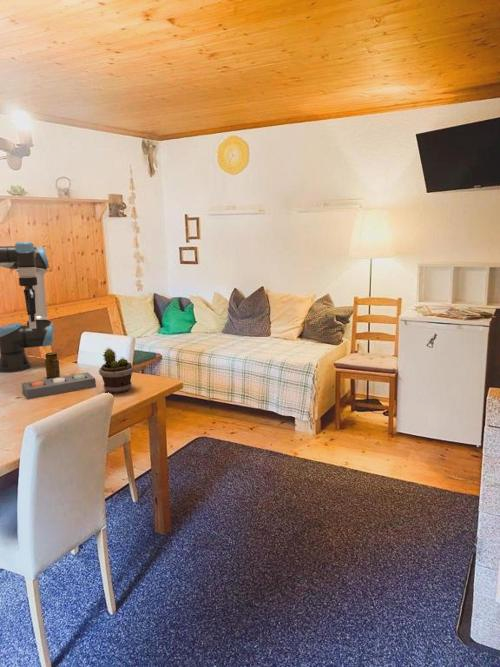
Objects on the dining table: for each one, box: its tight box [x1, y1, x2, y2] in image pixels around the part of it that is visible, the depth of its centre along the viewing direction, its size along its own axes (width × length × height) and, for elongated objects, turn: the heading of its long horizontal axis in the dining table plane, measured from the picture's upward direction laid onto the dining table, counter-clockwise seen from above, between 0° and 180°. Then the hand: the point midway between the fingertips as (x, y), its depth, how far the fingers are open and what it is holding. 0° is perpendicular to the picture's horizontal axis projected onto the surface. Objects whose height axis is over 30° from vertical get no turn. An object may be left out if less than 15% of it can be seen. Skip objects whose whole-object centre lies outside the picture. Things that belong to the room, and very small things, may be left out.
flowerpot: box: [98, 347, 135, 394], centre depth 218 cm, size 14×15×20 cm
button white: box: [53, 378, 65, 383], centre depth 222 cm, size 5×5×4 cm
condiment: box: [43, 352, 63, 379], centre depth 239 cm, size 7×8×12 cm
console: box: [21, 372, 97, 400], centre depth 222 cm, size 12×29×4 cm, turn 124°
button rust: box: [31, 380, 44, 387], centre depth 217 cm, size 5×5×4 cm
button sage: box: [73, 373, 85, 380], centre depth 226 cm, size 5×5×4 cm
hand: (33, 328), depth 226 cm, fingers closed
